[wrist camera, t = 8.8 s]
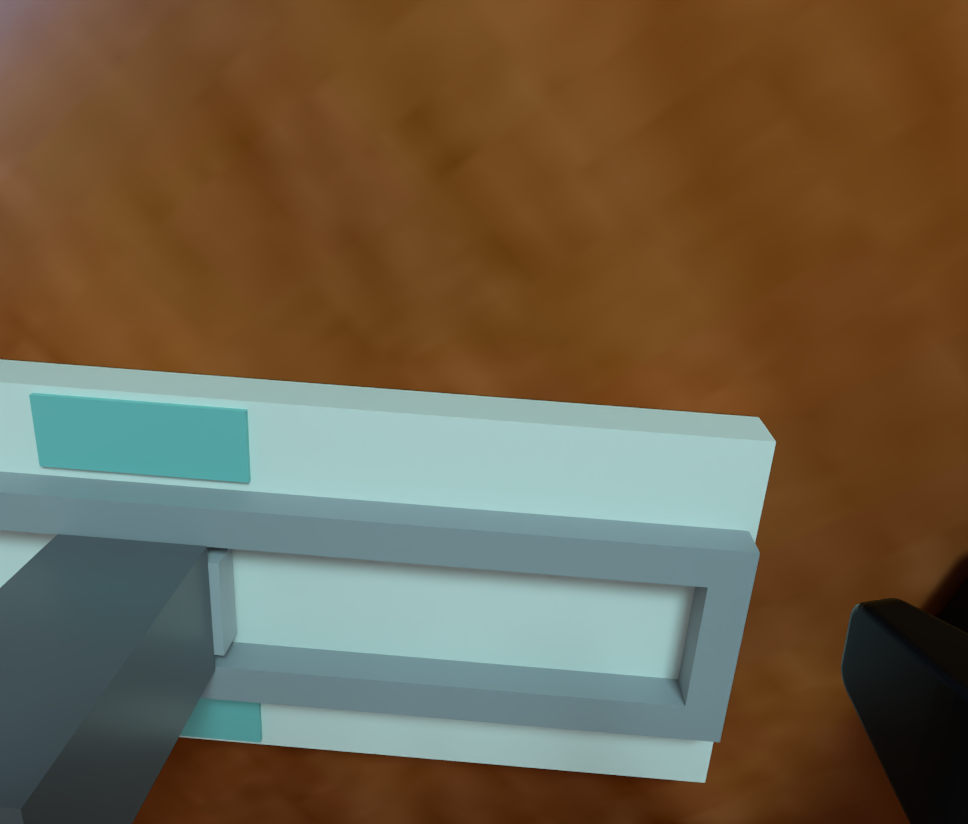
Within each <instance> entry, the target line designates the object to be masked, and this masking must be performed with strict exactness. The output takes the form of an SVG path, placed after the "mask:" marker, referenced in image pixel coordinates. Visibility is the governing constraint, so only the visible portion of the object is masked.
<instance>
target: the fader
mask: <svg viewBox="0 0 968 824" xmlns="http://www.w3.org/2000/svg"><path fill="white" fill-rule="evenodd" d="M236 633H237V632H236V614H235V597H234V579H233V561H232V549H227V548H215V547H207V546H199V545H187V544H174V543H162V542H150V541H137V540H125V539H113V538H101V537H88V536H76V535H64V534H57V535H56V536H55V537H54V538H53V539H52V540H51V541H50V542H49V543H47V544H46V545H45V546H44V547H43V548H42V549H41V550H40V551H39V552H38V553H37V554H36V555H35V556H34V557H33V558H32V559H30V560H29V561H28V562H27V563H26V564H25V565H24V566H23V567H22V568H21V569H20V570H19V571H18V572H17V573H16V574H14V575H13V576H12V577H11V578H10V579H9V580H8V581H7V582H6V583H5V584H4V585H3V586H2V587H1V588H0V824H132V823H133V821H134V819H135V817H136V815H137V814H138V812H139V810H140V808H141V806H142V804H143V802H144V801H145V799H146V797H147V795H148V793H149V791H150V790H151V788H152V786H153V784H154V782H155V780H156V778H157V777H158V775H159V773H160V771H161V769H162V767H163V766H164V764H165V762H166V760H167V758H168V756H169V754H170V753H171V751H172V749H173V747H174V745H175V743H176V742H177V740H178V738H179V736H180V734H181V732H182V730H183V729H184V727H185V725H186V723H187V721H188V719H189V718H190V716H191V714H192V712H193V710H194V708H195V706H196V705H197V703H198V701H199V699H200V697H201V695H202V693H203V692H204V690H205V688H206V686H207V684H208V682H209V681H210V679H211V677H212V675H213V673H214V671H215V658H214V655H223V656H224V655H225V654H226V652H227V650H228V648H229V646H230V644H231V642H232V641H233V639H234V637H235V635H236Z"/></svg>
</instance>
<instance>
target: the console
mask: <svg viewBox="0 0 968 824" xmlns="http://www.w3.org/2000/svg"><path fill="white" fill-rule="evenodd" d="M775 445H776V441H775V440H774V438H773V437H772V435H771V434H770V432H769V431H768V430H767V428H766V427H765V425H764V424H763V423H762V421H761V420H760V418H759V417H749V416H736V415H723V414H709V413H696V412H683V411H670V410H657V409H644V408H631V407H618V406H604V405H591V404H578V403H565V402H552V401H539V400H526V399H512V398H499V397H486V396H473V395H460V394H447V393H434V392H421V391H407V390H394V389H381V388H368V387H355V386H342V385H329V384H316V383H302V382H289V381H276V380H263V379H250V378H237V377H224V376H211V375H197V374H184V373H171V372H158V371H145V370H132V369H119V368H105V367H92V366H79V365H66V364H53V363H40V362H27V361H14V360H0V588H1V587H2V586H3V585H4V584H5V583H6V582H7V581H8V580H9V579H10V578H11V577H12V576H13V575H14V574H16V573H17V572H18V571H19V570H20V569H21V568H22V567H23V566H24V565H25V564H26V563H27V562H28V561H29V560H30V559H32V558H33V557H34V556H35V555H36V554H37V553H38V552H39V551H40V550H41V549H42V548H43V547H44V546H45V545H46V544H47V543H49V542H50V541H51V540H52V539H53V538H54V537H55V536H56V535H57V534H64V535H76V536H88V537H101V538H113V539H125V540H137V541H150V542H162V543H174V544H187V545H199V546H207V547H215V548H227V549H232V561H233V579H234V597H235V614H236V632H237V633H236V635H235V637H234V639H233V641H232V642H231V644H230V646H229V648H228V650H227V652H226V654H225V655H224V656H223V655H214V658H215V671H214V673H213V675H212V677H211V679H210V681H209V682H208V684H207V686H206V688H205V690H204V692H203V693H202V695H201V697H200V699H199V701H198V703H197V705H196V706H195V708H194V710H193V712H192V714H191V716H190V718H189V719H188V721H187V723H186V725H185V727H184V729H183V730H182V732H181V734H180V736H179V737H185V738H196V739H208V740H219V741H231V742H242V743H254V744H265V745H277V746H288V747H300V748H311V749H323V750H334V751H346V752H357V753H369V754H380V755H392V756H403V757H415V758H426V759H438V760H449V761H461V762H472V763H484V764H495V765H507V766H518V767H530V768H541V769H553V770H564V771H576V772H587V773H599V774H610V775H622V776H633V777H645V778H656V779H668V780H679V781H691V782H702V783H705V780H706V775H707V770H708V766H709V761H710V756H711V751H712V747H713V742H720V739H721V734H722V729H723V725H724V720H725V715H726V710H727V706H728V701H729V696H730V692H731V687H732V682H733V677H734V673H735V668H736V663H737V659H738V654H739V649H740V645H741V640H742V635H743V630H744V626H745V621H746V616H747V612H748V607H749V602H750V597H751V593H752V588H753V583H754V579H755V574H756V569H757V564H758V560H759V555H760V552H759V550H758V548H757V546H756V544H755V541H756V536H757V531H758V526H759V521H760V517H761V512H762V507H763V502H764V497H765V493H766V488H767V483H768V478H769V473H770V469H771V464H772V459H773V454H774V450H775Z"/></svg>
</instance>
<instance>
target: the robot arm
mask: <svg viewBox="0 0 968 824" xmlns="http://www.w3.org/2000/svg"><path fill="white" fill-rule="evenodd" d="M841 671H842V678H843V682H844V686H845V688H846V691H847V693H848V695H849V697H850V699H851V701H852V704H853V706H854V708H855V710H856V712H857V714H858V716H859V718H860V720H861V722H862V724H863V727H864V729H865V731H866V733H867V735H868V737H869V739H870V741H871V743H872V745H873V747H874V750H875V752H876V754H877V756H878V758H879V760H880V762H881V764H882V766H883V768H884V771H885V773H886V775H887V777H888V779H889V781H890V783H891V785H892V787H893V789H894V791H895V794H896V796H897V798H898V800H899V802H900V804H901V806H902V808H903V810H904V812H905V814H906V816H907V818H908V820H909V822H910V824H968V579H967V580H966V581H965V583H964V584H963V585H962V586H961V588H960V589H959V590H958V592H957V593H956V594H955V595H954V597H953V598H952V599H951V601H950V602H949V603H948V604H947V606H946V607H945V608H944V610H943V611H942V612H941V613H940V615H939V616H938V617H937V618H936V617H934V616H932V615H931V614H929V613H927V612H925V611H923V610H921V609H919V608H917V607H915V606H913V605H911V604H909V603H907V602H905V601H902V600H900V599H896V598H888V599H881V600H875V601H868V602H862V603H859V604H857V605H856V606H855V607H854V609H853V610H852V612H851V615H850V620H849V625H848V631H847V636H846V641H845V647H844V652H843V657H842V664H841Z"/></svg>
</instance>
